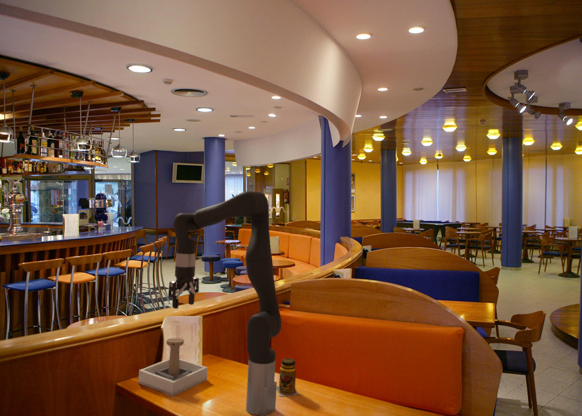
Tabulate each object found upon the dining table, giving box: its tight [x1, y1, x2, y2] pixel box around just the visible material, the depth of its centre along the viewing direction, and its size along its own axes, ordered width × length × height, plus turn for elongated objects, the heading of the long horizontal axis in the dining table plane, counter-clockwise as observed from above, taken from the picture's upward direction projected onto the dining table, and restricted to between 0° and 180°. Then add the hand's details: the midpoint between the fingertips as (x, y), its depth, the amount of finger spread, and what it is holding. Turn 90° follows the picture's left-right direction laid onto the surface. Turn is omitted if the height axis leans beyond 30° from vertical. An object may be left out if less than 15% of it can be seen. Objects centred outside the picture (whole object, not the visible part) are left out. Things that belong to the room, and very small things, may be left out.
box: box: [137, 357, 209, 397], centre depth 166 cm, size 18×18×5 cm
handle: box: [166, 337, 185, 377], centre depth 166 cm, size 5×6×15 cm
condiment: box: [276, 357, 300, 397], centre depth 163 cm, size 7×8×12 cm
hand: (183, 306), depth 167 cm, fingers open, 8 cm apart
